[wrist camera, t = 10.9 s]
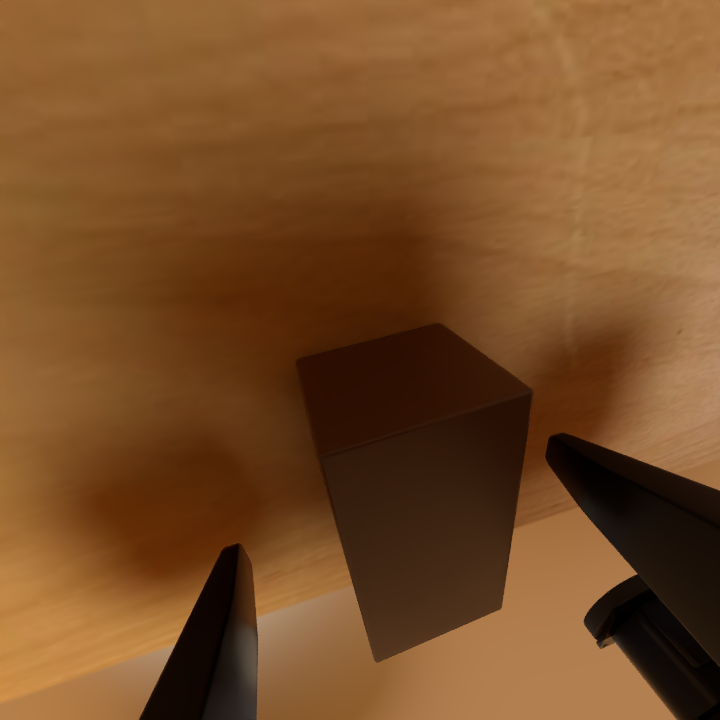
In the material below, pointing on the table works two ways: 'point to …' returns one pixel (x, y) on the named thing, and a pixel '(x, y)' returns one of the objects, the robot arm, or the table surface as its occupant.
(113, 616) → the table surface
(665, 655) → the robot arm
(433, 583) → the chocolate bar
